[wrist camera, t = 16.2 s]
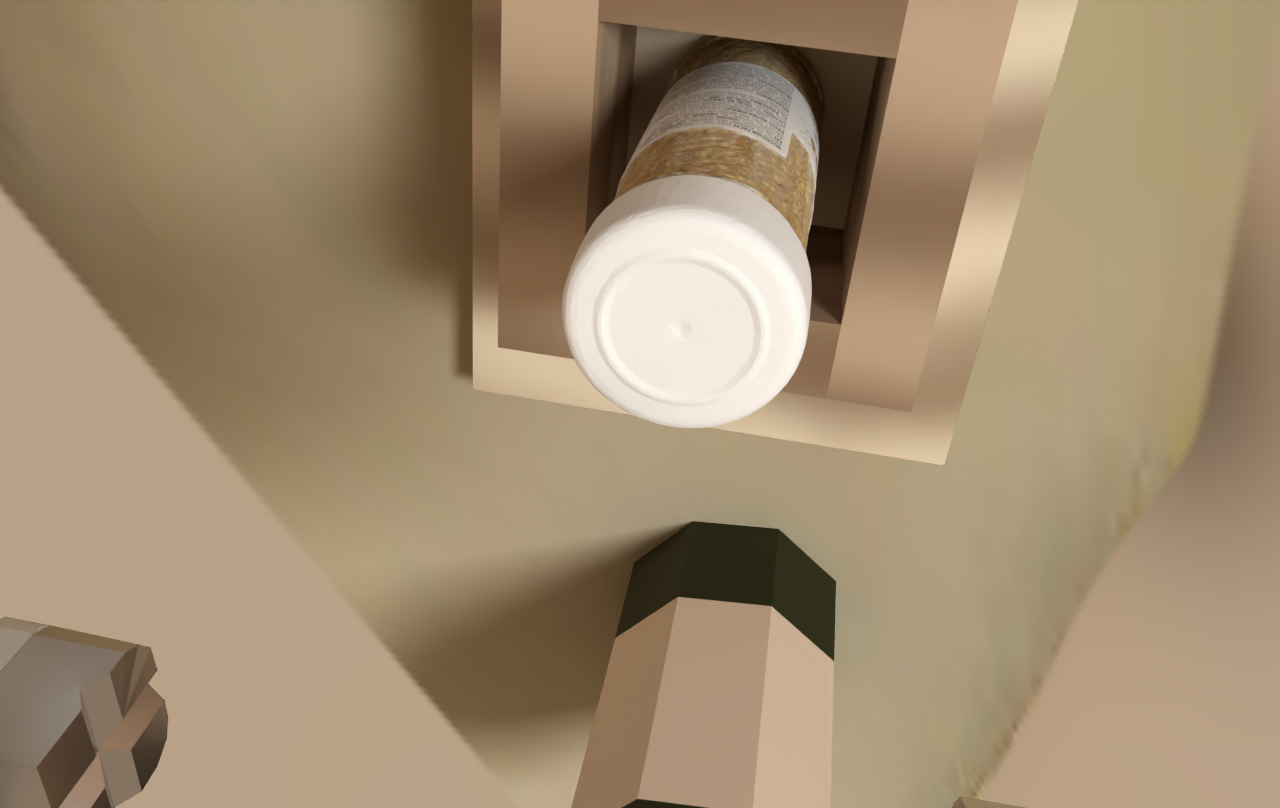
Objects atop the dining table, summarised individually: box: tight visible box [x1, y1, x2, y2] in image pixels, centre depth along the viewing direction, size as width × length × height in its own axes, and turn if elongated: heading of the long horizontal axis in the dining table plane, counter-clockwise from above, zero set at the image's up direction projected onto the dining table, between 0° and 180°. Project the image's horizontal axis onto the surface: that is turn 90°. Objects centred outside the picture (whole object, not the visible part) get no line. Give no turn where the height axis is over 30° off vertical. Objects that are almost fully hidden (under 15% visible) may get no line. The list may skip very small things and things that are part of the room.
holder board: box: [472, 0, 1078, 465], centre depth 29 cm, size 22×16×8 cm
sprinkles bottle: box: [562, 35, 824, 428], centre depth 25 cm, size 5×5×14 cm
